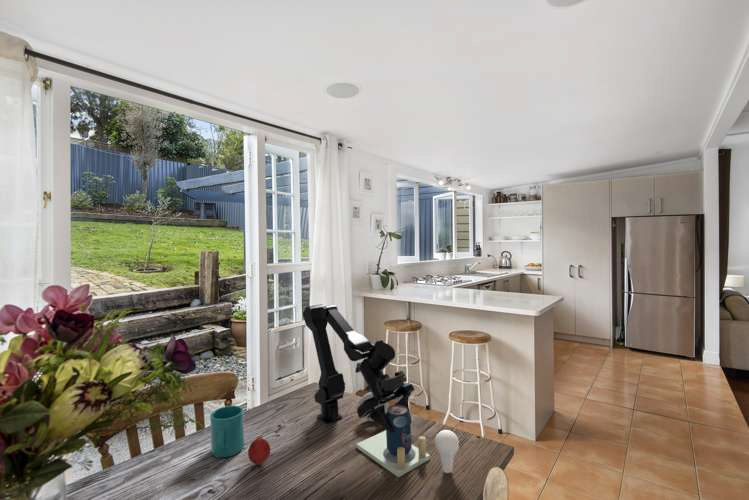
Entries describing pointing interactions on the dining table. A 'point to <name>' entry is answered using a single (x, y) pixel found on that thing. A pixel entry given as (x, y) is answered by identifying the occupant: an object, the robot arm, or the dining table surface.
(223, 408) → the cup
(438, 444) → the lightbulb
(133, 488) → the dining table surface
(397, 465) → the board
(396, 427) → the soda can
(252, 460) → the onion
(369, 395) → the donut
